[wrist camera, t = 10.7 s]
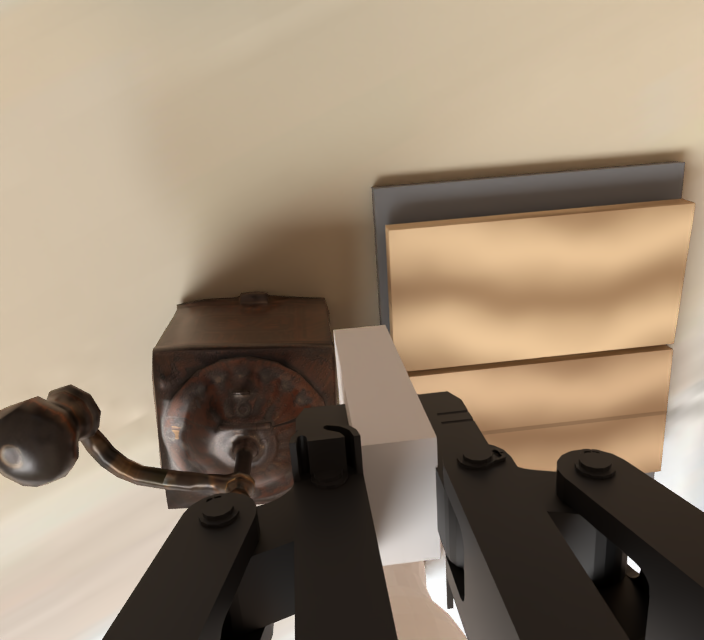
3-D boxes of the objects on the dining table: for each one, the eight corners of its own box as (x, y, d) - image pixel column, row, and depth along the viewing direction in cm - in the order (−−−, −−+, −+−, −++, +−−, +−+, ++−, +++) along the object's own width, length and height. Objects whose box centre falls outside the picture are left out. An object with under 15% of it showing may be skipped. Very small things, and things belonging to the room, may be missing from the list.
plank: (385, 225, 39) (388, 230, 38) (681, 198, 41) (695, 203, 39) (391, 363, 43) (394, 372, 42) (661, 334, 44) (673, 343, 43)
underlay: (371, 187, 40) (373, 189, 39) (676, 161, 42) (684, 162, 41) (391, 507, 48) (393, 515, 47) (646, 477, 49) (653, 483, 48)
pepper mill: (330, 287, 42) (355, 400, 25) (330, 430, 46) (354, 615, 28) (98, 292, 41) (-41, 415, 24) (117, 439, 44) (7, 638, 27)
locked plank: (391, 370, 43) (395, 378, 42) (660, 342, 45) (672, 349, 43) (398, 490, 46) (402, 502, 45) (649, 460, 48) (660, 471, 46)
